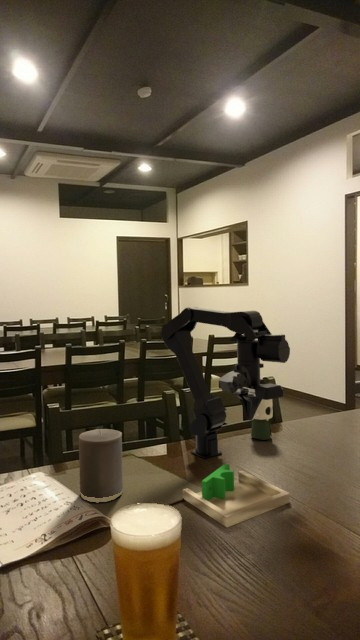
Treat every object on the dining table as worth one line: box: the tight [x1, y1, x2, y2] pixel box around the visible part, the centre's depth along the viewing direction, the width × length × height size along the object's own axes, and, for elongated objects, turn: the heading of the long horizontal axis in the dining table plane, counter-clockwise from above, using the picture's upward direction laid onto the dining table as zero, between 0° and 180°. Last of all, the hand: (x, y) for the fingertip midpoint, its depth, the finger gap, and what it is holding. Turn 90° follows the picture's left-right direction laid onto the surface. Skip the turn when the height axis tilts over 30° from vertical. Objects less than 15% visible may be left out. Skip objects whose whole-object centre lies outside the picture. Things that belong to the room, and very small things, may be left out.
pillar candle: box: [78, 428, 124, 498], centre depth 101 cm, size 10×10×15 cm
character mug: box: [250, 399, 274, 441], centre depth 136 cm, size 11×7×13 cm, turn 153°
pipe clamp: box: [201, 463, 235, 501], centre depth 99 cm, size 11×4×5 cm, turn 148°
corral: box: [182, 470, 291, 528], centre depth 96 cm, size 15×17×2 cm
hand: (249, 419), depth 114 cm, fingers closed
